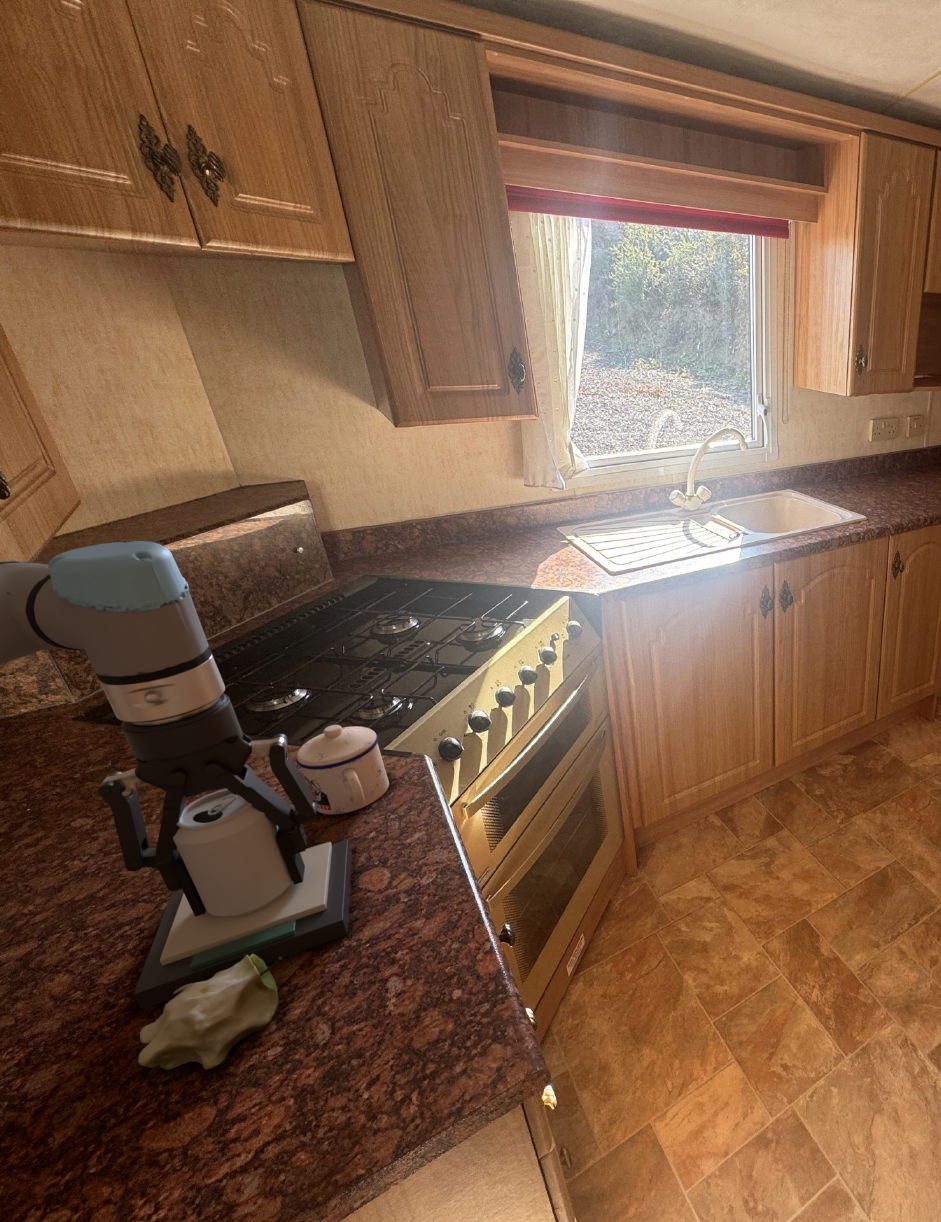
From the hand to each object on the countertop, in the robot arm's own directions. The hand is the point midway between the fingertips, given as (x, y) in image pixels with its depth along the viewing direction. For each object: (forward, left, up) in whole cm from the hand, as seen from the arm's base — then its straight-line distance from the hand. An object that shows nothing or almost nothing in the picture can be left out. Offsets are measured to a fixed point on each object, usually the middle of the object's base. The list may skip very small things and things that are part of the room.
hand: (252, 890), depth 69 cm
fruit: (-1, -14, -5) cm, 15 cm away
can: (0, 0, -1) cm, 1 cm away
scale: (0, -1, -4) cm, 5 cm away
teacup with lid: (+8, +18, -5) cm, 20 cm away
